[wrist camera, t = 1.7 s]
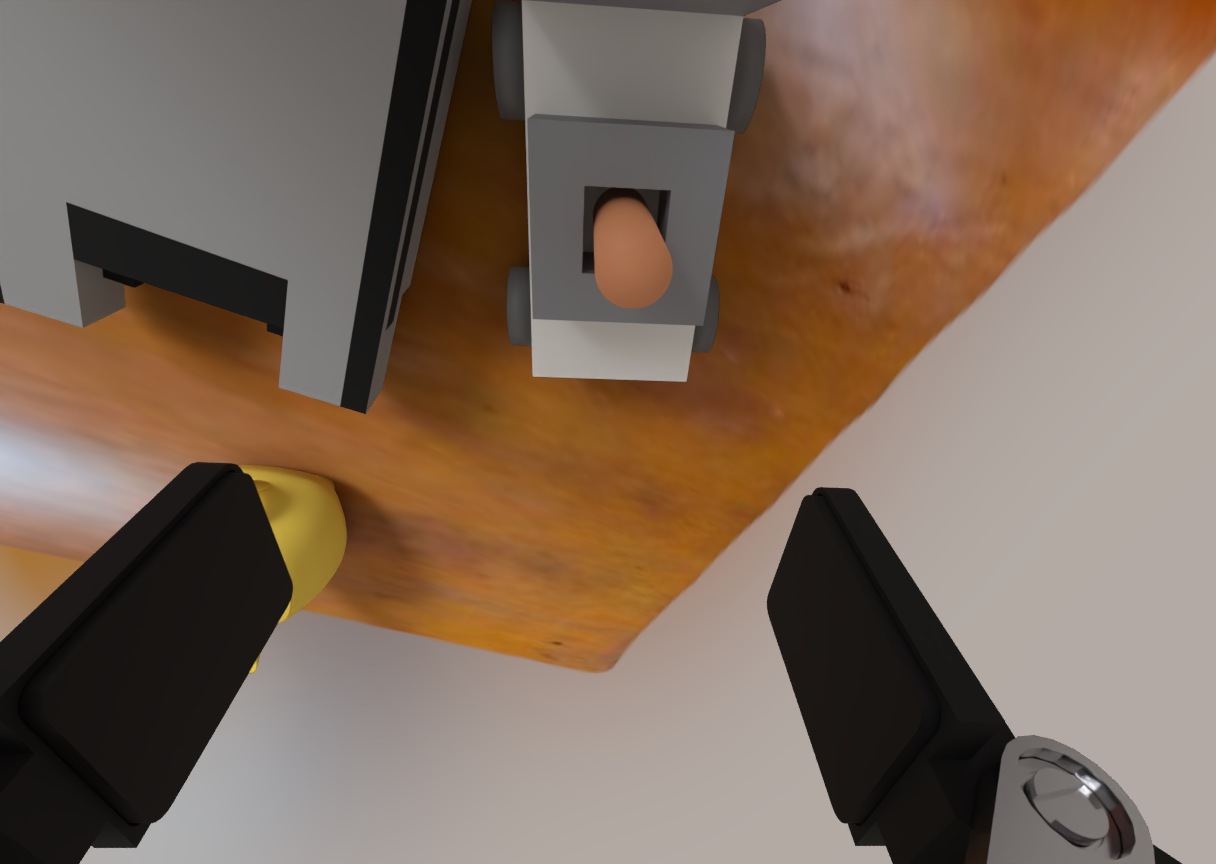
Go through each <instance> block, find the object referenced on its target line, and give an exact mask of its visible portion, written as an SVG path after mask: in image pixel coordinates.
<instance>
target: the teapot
mask: <svg viewBox="0 0 1216 864" xmlns="http://www.w3.org/2000/svg"><path fill="white" fill-rule="evenodd" d="M238 466H239V467H240V468H241V469H242V471H243V472H244V473H247V474H249V475H250V476H251V477H252V479H253V481H254V483H255V486H256V488H257V491H258V494H259V496H260V499H261V501H262V504H263V507H264V509H265V512H266V514H267V517H268V520H269V522H270V525H271V527H272V530H273V533H274V535H275V538H276V540H277V543H278V546H279V548H280V551H281V553H282V556H283V559H284V561H285V564H286V566H287V569H288V572H289V574H290V577H291V579H292V583H293V594H292V598H291V601H290V603H289V605H288V607H287V608H286V610H285V612H284V614H283V615H282V617H281V619H280V620H279V622H283V621H286V620H287V619H289V618H290V617H291V616H293V615H294V614H296V613H297V612H298V611H299V610H301V609H302V608H303V607H304V606H305V605H307V604H308V603H309V602H310V601H311V600H312V599H314V598H315V597H316V596H317V595H318V594H319V593H320V591H321V590H322V589H323V588H324V587H325V586H326V585H327V583H328V582H329V581H330V580H331V578H332V577H333V575H334V574H335V572H336V571H337V569H338V567H339V565H340V563H341V561H342V559H343V556H344V553H345V548H346V542H347V530H346V522H345V517H344V513H343V510H342V507H341V504H340V501H339V498H338V496H337V494H336V492H335V485H334V483H333V482H332V481H331V480H330V479H328V478H326V477H324V476H317V475H314V474H310V473H307V472H302V471H297V470H292V469H286V468H280V467H272V466H262V465H238ZM279 622H278V623H279ZM259 657H260V655H259V656H258V658H257V660H256V662H255V663H254V665H253V667H252V668H251V670H250V672H249V673H250V674H251V673H254V672H255V671H256V669H257V666H258V661H259Z"/></svg>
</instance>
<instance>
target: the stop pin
mask: <svg viewBox="0 0 1216 864" xmlns="http://www.w3.org/2000/svg"><path fill="white" fill-rule="evenodd" d="M593 231H594V264H595V279H596V283H597V286H598V288H599V290H600V291H601V293H602V294H603V295H604V297H605V298H606V299H607V300H608V301H610V302H611V303H613V304H615V305H617V306H619V307H622V308H627V309H637V308H642V307H646V306H648V305H650V304H652V303H654V302H655V301H657V300H658V299H659V298H660V297H661V296H662V295H663V294H664V293H665V291H666V290H667V288H668V286H669V284H670V281H671V278H672V273H673V264H672V258H671V255H670V253H669V250H668V248H667V246H666V244H665V242H664V240H663V238H662V236H661V234H660V231H659V229H658V227H657V225H656V223H655V221H654V219H653V217H652V214H651V212H650V210H649V208H648V206H647V204H646V202H645V200H644V198H643V197H642V195H641V194H640V193H639V192H638V191H636V190H635V189H633V188H616V187H611V188H609V189H607V190H606V191H604V192H603V193H602V194H601V195H600V196H599V198H598V199H597V201H596V203H595V206H594V210H593Z"/></svg>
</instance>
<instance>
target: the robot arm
mask: <svg viewBox="0 0 1216 864" xmlns="http://www.w3.org/2000/svg"><path fill="white" fill-rule="evenodd" d="M292 594H293V583H292V579H291V577H290V574H289V572H288V569H287V566H286V564H285V561H284V559H283V556H282V553H281V551H280V548H279V546H278V543H277V540H276V538H275V535H274V533H273V530H272V527H271V525H270V522H269V520H268V517H267V514H266V512H265V509H264V507H263V504H262V501H261V499H260V496H259V494H258V491H257V488H256V486H255V483H254V481H253V479H252V477H251V476H250V475H249V474H247V473H244V472H243V471H242V469H241V468H240V467H239V466H238V465H236V464H230V463H206V462H196V463H192V464H190V465H189V466H187V467H186V468H185V469H184V470H183V471H182V472H181V473H179V474H178V475H177V476H176V477H175V478H174V479H173V480H172V481H171V482H170V483H169V484H168V485H167V486H166V487H165V488H164V489H162V490H161V491H160V492H159V493H158V494H157V495H156V496H155V497H154V498H153V499H152V500H151V501H150V502H149V503H148V504H146V505H145V506H144V507H143V508H142V509H141V510H140V511H139V512H138V513H137V514H136V515H135V516H134V517H133V518H132V519H131V520H129V521H128V522H127V523H126V524H125V525H124V526H123V527H122V528H121V529H120V530H119V531H118V532H117V533H116V534H115V535H114V536H112V537H111V538H110V539H109V540H108V541H107V542H106V543H105V544H104V545H103V546H102V547H101V548H100V549H99V550H98V551H97V552H95V553H94V554H93V555H92V556H91V557H90V558H89V559H88V560H87V561H86V562H85V563H84V564H83V565H82V566H81V567H80V568H78V569H77V570H76V571H75V572H74V573H73V574H72V575H71V576H70V577H69V578H68V579H67V580H66V581H65V582H64V583H63V584H62V585H60V586H59V587H58V589H56V590H55V591H54V592H53V593H52V594H51V595H50V596H49V597H48V598H47V599H46V600H44V601H43V602H42V603H41V604H40V605H39V606H38V607H37V608H36V609H35V610H34V611H33V612H32V613H31V614H30V615H29V616H28V617H26V618H25V619H24V620H23V621H22V622H21V623H20V624H19V625H18V626H17V627H16V628H15V629H14V630H13V631H12V632H11V633H10V634H8V635H7V636H6V637H5V638H4V639H3V640H2V641H1V642H0V864H79V863H80V861H81V860H82V858H83V857H84V855H85V854H86V852H87V851H88V849H89V848H90V846H93V847H94V848H136V847H137V846H138V844H139V843H140V841H141V839H142V837H143V836H144V834H145V833H146V831H147V829H148V828H149V826H150V824H151V823H154V822H156V821H158V820H159V819H161V818H162V817H163V816H164V814H166V812H167V811H168V810H169V808H170V807H171V805H172V803H173V802H174V800H175V799H176V796H177V795H178V793H179V792H180V790H181V788H182V787H183V785H184V783H185V781H186V780H187V778H188V776H189V775H190V773H191V771H192V769H193V768H194V766H195V764H196V762H197V761H198V759H199V757H200V756H201V754H202V752H203V750H204V749H205V747H206V745H207V744H208V742H209V740H210V739H211V737H212V735H213V733H214V732H215V730H216V728H217V727H218V725H219V723H220V721H221V720H222V718H223V716H224V715H225V713H226V711H227V709H228V708H229V706H230V704H231V703H232V701H233V699H234V697H235V696H236V694H237V692H238V691H239V689H240V687H241V686H242V683H243V682H244V680H245V679H246V677H247V675H248V674H249V672H250V670H251V668H252V667H253V665H254V663H255V662H256V660H257V658H258V656H259V655H260V653H261V651H262V649H263V648H264V646H265V644H266V643H267V641H268V639H269V637H270V635H271V634H272V632H273V631H274V629H275V627H276V626H277V624H278V622H279V620H280V619H281V617H282V615H283V614H284V612H285V610H286V608H287V607H288V605H289V603H290V601H291V598H292ZM767 609H768V615H769V618H770V621H771V624H772V627H773V630H774V633H775V636H776V639H777V642H778V645H779V648H780V651H781V654H782V657H783V660H784V663H785V666H786V669H787V672H788V675H789V678H790V681H791V684H792V687H793V690H794V693H795V696H796V699H797V702H798V705H799V708H800V711H801V714H802V717H803V720H804V723H805V726H806V729H807V732H808V735H809V738H810V741H811V744H812V747H813V750H814V753H815V755H816V759H817V762H818V765H819V768H820V771H821V774H822V777H823V780H824V783H825V786H826V789H827V792H828V795H829V798H830V801H831V804H832V807H833V810H834V812H835V814H836V816H837V818H838V819H839V820H840V821H841V822H842V823H848V825H849V829H850V831H851V834H852V837H853V840H854V843H855V846H886V847H887V850H888V853H889V855H890V857H891V860H892V863H893V864H1182V863H1180V862H1179V861H1177V860H1176V859H1174V858H1173V857H1171V856H1170V855H1168V854H1167V853H1165V852H1164V851H1162V850H1161V849H1159V848H1158V847H1156V846H1155V845H1153V844H1152V840H1151V837H1150V833H1149V829H1148V826H1147V825H1146V823H1145V821H1144V819H1143V818H1142V816H1141V814H1140V812H1139V810H1138V809H1137V807H1136V805H1135V804H1134V802H1133V801H1132V800H1131V799H1130V798H1129V796H1128V795H1127V794H1126V793H1125V792H1124V790H1123V789H1122V788H1121V787H1120V786H1119V784H1118V783H1117V782H1116V781H1115V780H1114V779H1112V778H1111V777H1110V776H1109V775H1108V774H1107V773H1106V772H1105V771H1104V770H1102V769H1101V768H1100V767H1099V766H1098V765H1097V764H1095V763H1094V762H1093V761H1091V760H1090V759H1088V758H1087V757H1085V756H1084V755H1082V754H1080V753H1079V752H1078V751H1076V750H1075V749H1073V748H1070V747H1068V746H1066V745H1064V744H1062V743H1060V742H1057V741H1055V740H1053V739H1048V738H1044V737H1040V736H1035V735H1030V736H1018V737H1017V738H1015V737H1014V735H1013V734H1012V732H1011V730H1010V729H1009V727H1008V726H1007V724H1006V723H1005V720H1004V719H1003V717H1002V716H1001V714H1000V713H999V711H998V710H997V708H996V707H995V705H994V703H993V702H992V700H991V699H990V698H989V696H988V694H987V693H986V691H985V690H984V688H983V687H982V685H981V684H980V682H979V680H978V679H977V677H976V676H975V674H974V673H973V671H972V670H971V668H970V667H969V665H968V663H967V662H966V661H965V659H964V657H963V656H962V654H961V653H960V651H959V650H958V648H957V647H956V645H955V643H954V642H953V640H952V639H951V637H950V636H949V634H948V633H947V631H946V630H945V628H944V627H943V625H942V623H941V622H940V620H939V619H938V617H937V616H936V614H935V613H934V611H933V610H932V608H931V607H930V605H929V603H928V602H927V600H926V599H925V597H924V596H923V594H922V593H921V591H920V590H919V588H918V587H917V585H916V583H915V582H914V580H913V579H912V577H911V576H910V574H909V573H908V571H907V570H906V568H905V567H904V565H903V563H902V562H901V560H900V559H899V558H898V556H897V554H896V553H895V551H894V550H893V548H892V547H891V545H890V543H889V542H888V541H887V539H886V537H885V536H884V534H883V533H882V531H881V530H880V528H879V527H878V525H877V524H876V522H875V520H874V519H873V517H872V516H871V514H870V513H869V511H868V510H867V508H866V507H865V505H864V503H863V502H862V500H861V499H860V497H859V496H858V494H857V493H856V492H855V491H854V490H852V489H849V488H823V487H820V488H816V489H815V490H814V492H813V494H812V495H807V496H805V497H804V498H803V500H802V503H801V506H800V508H799V511H798V514H797V516H796V519H795V522H794V525H793V528H792V530H791V533H790V536H789V538H788V541H787V544H786V547H785V549H784V553H783V555H782V558H781V561H780V563H779V566H778V569H777V572H776V574H775V577H774V580H773V583H772V585H771V589H770V591H769V594H768V599H767Z"/></svg>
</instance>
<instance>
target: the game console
mask: <svg viewBox="0 0 1216 864" xmlns="http://www.w3.org/2000/svg"><path fill="white" fill-rule="evenodd" d="M471 3H472V0H0V303H3V304H6V305H10V306H13V307H16V308H20V309H23V310H26V311H29V312H33V313H36V314H39V315H43V316H46V317H49V318H52V319H56V320H59V321H62V322H65V323H69V324H72V325H75V326H79V327H82V328H83V327H86V326H88V325H90V324H92V323H94V322H96V321H98V320H100V319H102V318H104V317H106V316H108V315H110V314H112V313H114V312H116V311H118V310H120V309H122V308H124V307H126V305H125V293H124V284H125V285H128V286H131V287H134V288H135V287H137V286H139V285H141V284H143V283H147V284H150V285H153V286H156V287H159V288H162V289H165V290H168V291H171V292H174V293H177V294H180V295H183V296H186V297H189V298H192V299H195V300H198V301H201V302H204V303H207V304H210V305H213V306H216V307H219V308H222V309H225V310H228V311H231V312H234V313H237V314H240V315H243V316H247V317H250V318H253V319H256V320H259V321H262V322H265V323H267V331H268V332H271V333H274V334H277V335H280V336H283V344H282V355H281V366H280V378H279V388H282V389H285V390H288V391H292V392H295V393H298V394H302V395H305V396H308V397H311V398H315V399H318V400H321V401H325V402H328V403H331V404H334V405H338V406H341V407H344V408H347V409H351V410H354V411H357V412H361V413H364V414H366V413H367V411H368V410H369V408H370V407H371V405H372V404H373V402H374V401H375V399H376V398H377V396H378V395H379V393H380V392H381V390H382V389H383V384H384V379H385V374H386V370H387V365H388V360H389V355H390V351H391V346H392V341H393V336H394V332H395V327H396V322H397V318H398V313H399V308H400V303H401V299H402V294H403V293H404V292H405V291H406V290H407V289H408V288H409V286H410V284H411V280H412V275H413V270H414V266H415V261H416V257H417V252H418V247H419V243H420V238H421V234H422V229H423V224H424V220H425V215H426V211H427V206H428V201H429V197H430V192H431V188H432V183H433V178H434V174H435V169H436V164H437V160H438V155H439V151H440V146H441V141H442V137H443V132H444V128H445V123H446V118H447V114H448V109H449V105H450V100H451V95H452V91H453V86H454V82H455V77H456V72H457V68H458V63H459V59H460V54H461V49H462V45H463V40H464V36H465V31H466V26H467V22H468V17H469V13H470V8H471Z"/></svg>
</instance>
